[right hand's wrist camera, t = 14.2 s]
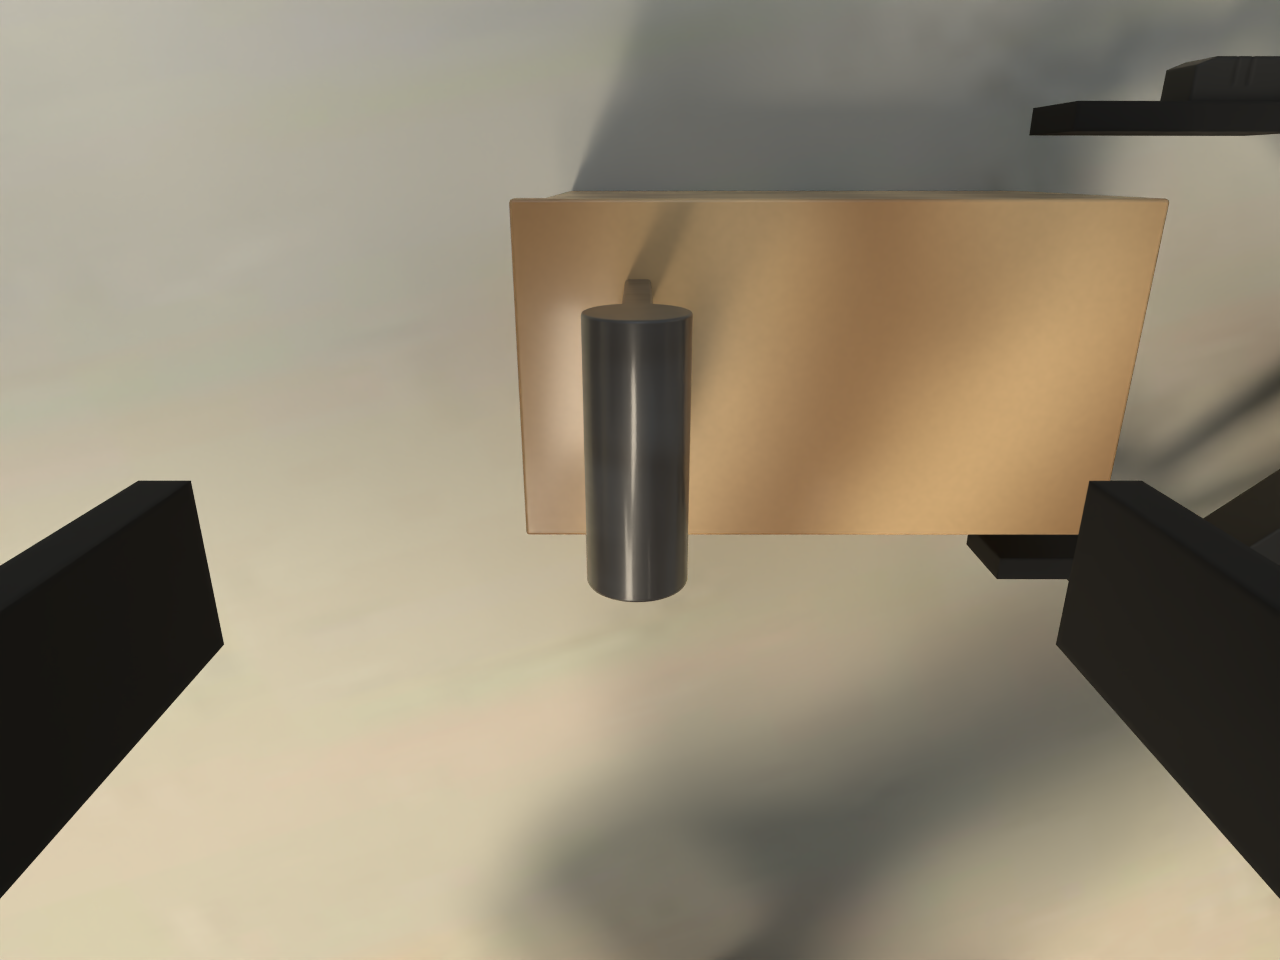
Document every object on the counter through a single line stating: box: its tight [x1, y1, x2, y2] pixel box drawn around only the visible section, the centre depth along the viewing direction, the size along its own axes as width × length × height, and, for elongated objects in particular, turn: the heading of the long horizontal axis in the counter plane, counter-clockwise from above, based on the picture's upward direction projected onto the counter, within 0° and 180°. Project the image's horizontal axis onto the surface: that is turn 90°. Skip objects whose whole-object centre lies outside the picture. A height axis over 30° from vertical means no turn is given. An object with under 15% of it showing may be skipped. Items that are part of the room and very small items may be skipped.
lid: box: [509, 198, 1169, 602], centre depth 20 cm, size 17×10×8 cm, turn 90°
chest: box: [548, 191, 1142, 198], centre depth 28 cm, size 16×10×9 cm, turn 90°
